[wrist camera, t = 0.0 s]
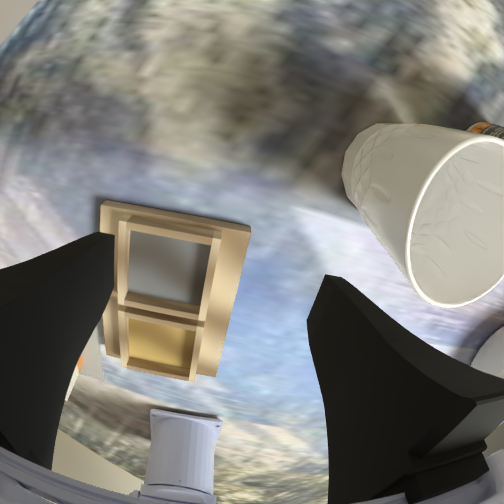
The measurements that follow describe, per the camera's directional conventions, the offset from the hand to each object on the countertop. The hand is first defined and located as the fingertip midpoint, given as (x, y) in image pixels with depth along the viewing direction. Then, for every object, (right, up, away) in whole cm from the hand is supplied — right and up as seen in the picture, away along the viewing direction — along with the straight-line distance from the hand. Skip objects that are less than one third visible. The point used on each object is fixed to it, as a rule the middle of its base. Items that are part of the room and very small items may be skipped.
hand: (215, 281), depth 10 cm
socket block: (-5, -3, +13) cm, 14 cm away
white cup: (+10, +6, +9) cm, 15 cm away
